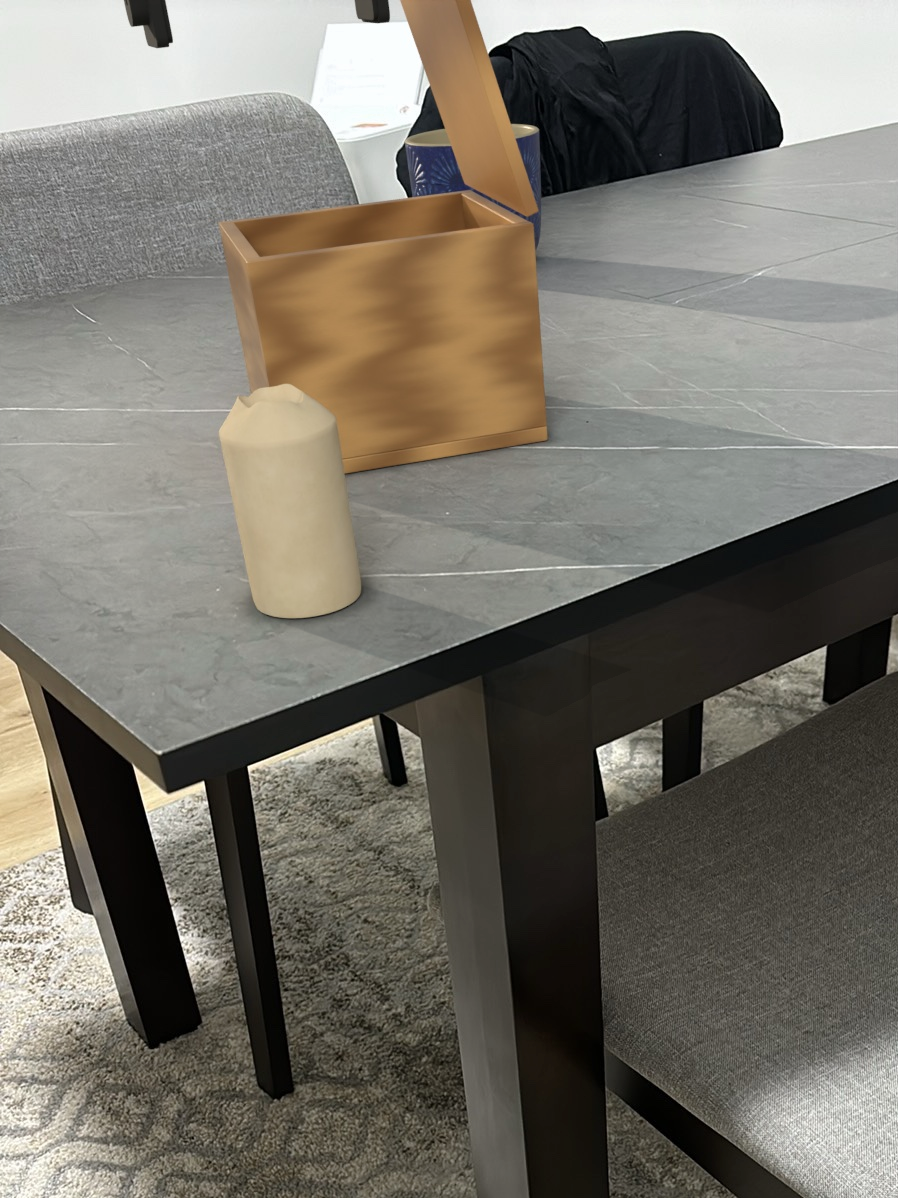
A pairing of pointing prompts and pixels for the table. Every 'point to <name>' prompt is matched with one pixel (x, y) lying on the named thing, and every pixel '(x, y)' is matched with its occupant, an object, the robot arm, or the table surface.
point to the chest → (397, 322)
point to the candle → (291, 503)
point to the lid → (470, 100)
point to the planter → (441, 173)
